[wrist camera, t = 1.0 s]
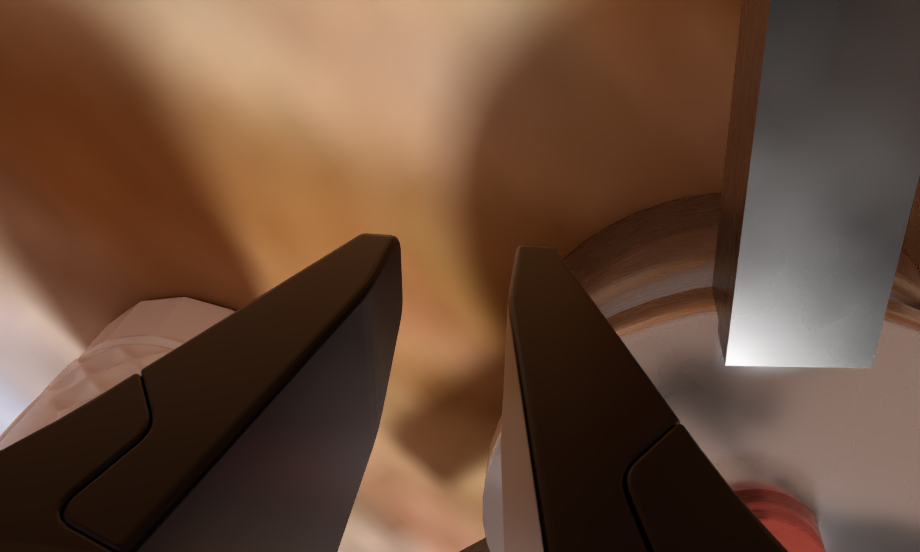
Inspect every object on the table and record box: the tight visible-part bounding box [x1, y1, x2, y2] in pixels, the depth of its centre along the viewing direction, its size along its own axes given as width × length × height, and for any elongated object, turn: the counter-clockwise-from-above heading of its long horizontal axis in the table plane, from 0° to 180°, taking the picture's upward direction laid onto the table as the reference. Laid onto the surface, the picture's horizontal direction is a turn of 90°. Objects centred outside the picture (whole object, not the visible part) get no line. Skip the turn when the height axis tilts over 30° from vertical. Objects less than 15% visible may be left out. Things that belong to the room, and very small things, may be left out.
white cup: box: [0, 297, 235, 450], centre depth 23 cm, size 8×8×10 cm
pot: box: [460, 193, 920, 552], centre depth 23 cm, size 12×23×4 cm, turn 134°
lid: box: [483, 0, 920, 552], centre depth 17 cm, size 21×13×2 cm, turn 4°
